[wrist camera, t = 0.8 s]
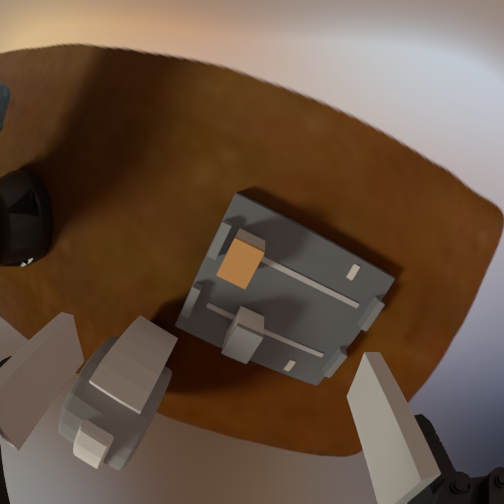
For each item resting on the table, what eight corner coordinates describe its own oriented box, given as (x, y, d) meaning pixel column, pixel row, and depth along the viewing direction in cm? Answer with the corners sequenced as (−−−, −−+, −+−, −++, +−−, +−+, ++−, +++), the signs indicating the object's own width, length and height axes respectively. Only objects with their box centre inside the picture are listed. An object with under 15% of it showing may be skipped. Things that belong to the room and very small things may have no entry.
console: (178, 318, 36) (171, 332, 32) (237, 191, 31) (233, 194, 27) (315, 376, 37) (318, 392, 34) (388, 273, 32) (400, 283, 29)
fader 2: (226, 331, 33) (220, 353, 28) (240, 305, 32) (236, 325, 27) (249, 341, 33) (246, 364, 29) (264, 316, 32) (263, 337, 28)
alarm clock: (152, 398, 41) (109, 491, 21) (109, 372, 40) (52, 457, 20) (194, 328, 36) (141, 451, 16) (140, 295, 35) (51, 394, 16)
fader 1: (223, 260, 30) (216, 275, 26) (239, 227, 29) (234, 237, 25) (248, 272, 31) (245, 289, 26) (265, 240, 29) (264, 252, 25)
